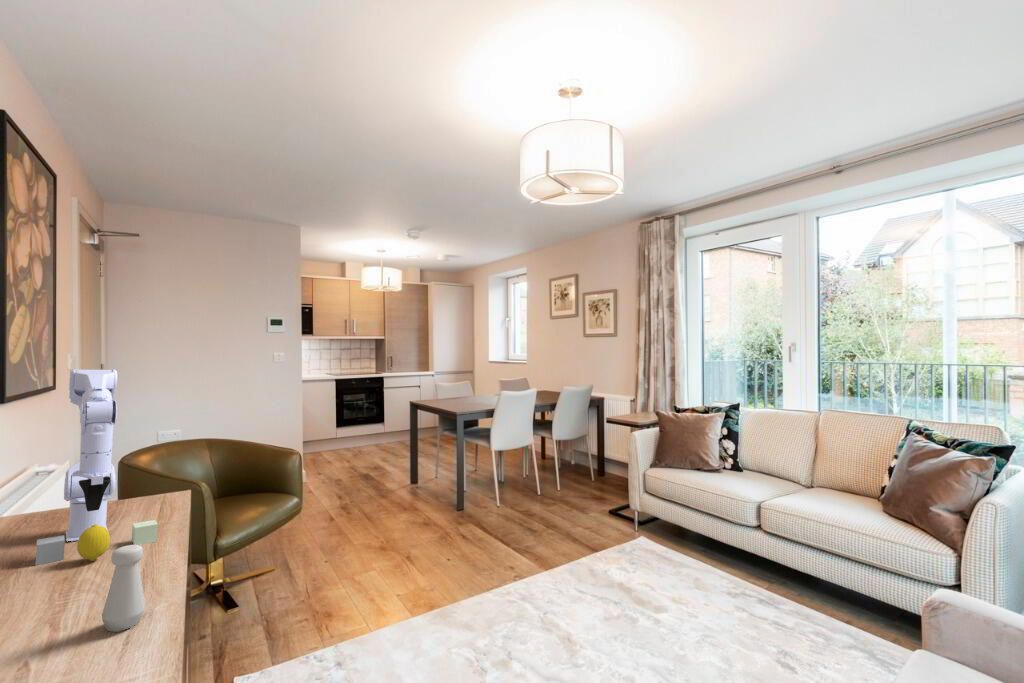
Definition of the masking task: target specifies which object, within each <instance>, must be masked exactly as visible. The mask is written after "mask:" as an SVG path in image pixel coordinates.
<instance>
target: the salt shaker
mask: <svg viewBox="0 0 1024 683" xmlns="http://www.w3.org/2000/svg"><path fill="white" fill-rule="evenodd" d="M110 557H111V564H112V565H115V567H114V570H113V574H112V579H111V583H110V586H109V590H108V594H107V596H106V597H107V598H106V599H105V604H104V607H103V610H102V613H101V619H102V623H103V625H104V626H105V628H106V630H107V631H108V632H113V633H119V632H122V630H123V631H126V630H125V629H127V630H129V629H128V628H131V629H132V628H134V627H135V626H136V625H138V624H139V623H140V621H141V619H142V617H143V615H144V613H145V610H146V602H145V594H144V589H143V588H144V587H143V581H142V575H141V570H140V569H141V568H140V560H142V559H143V557H144V549H143V546H142V545H133V544H128V545H124V546H121V547H118V548H116V549H115V550H114V551H113V552H112V554H111V556H110ZM138 622H139V623H138ZM137 623H138V624H137ZM135 624H136V625H135ZM134 625H135V626H134ZM133 626H134V627H133Z"/></svg>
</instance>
